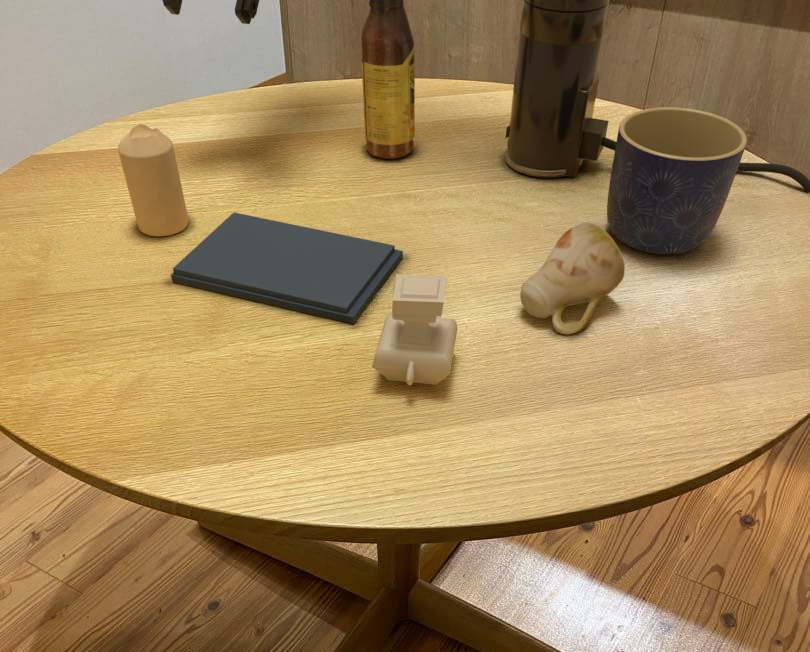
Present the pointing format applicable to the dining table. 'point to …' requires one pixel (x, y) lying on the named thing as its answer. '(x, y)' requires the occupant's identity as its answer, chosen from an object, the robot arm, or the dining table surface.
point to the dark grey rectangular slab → (289, 266)
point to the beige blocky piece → (416, 332)
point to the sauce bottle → (388, 80)
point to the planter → (671, 177)
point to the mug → (574, 276)
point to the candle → (153, 181)
